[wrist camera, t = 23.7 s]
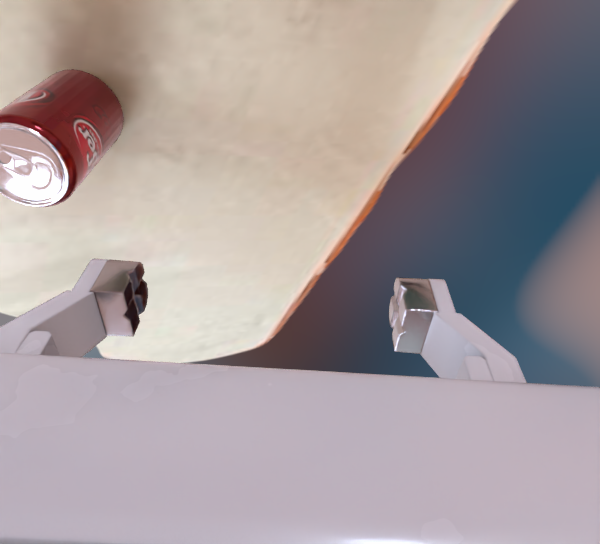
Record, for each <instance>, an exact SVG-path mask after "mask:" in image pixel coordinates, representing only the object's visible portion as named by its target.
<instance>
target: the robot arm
mask: <svg viewBox="0 0 600 544" xmlns="http://www.w3.org/2000/svg"><path fill="white" fill-rule="evenodd" d="M143 275H144V268H143V264H142V263H141V262H133V261H121V260H106V259H92V260H91V261H90V262H89V264H88V265H87V267H86V268H85V270H84V272H83V273H82V275H81V276H80V278H79V280H78V281H77V283H76V284H75V286H74V288H73V289H72V291H68V290H67V291H65V292H63V293H61V294H60V295H58V296H56V297H54V298H52V299H50V300H49V301H47V302H45V303H43V304H41V305H39V306H38V307H36V308H34V309H32V310H30V311H28V312H27V313H25V314H23V315H21V316H19V317H17V318H16V319H14V320H12V321H10V322H8V323H6V324H4V325H3V326H1V327H0V544H600V387H587V386H570V385H552V384H535V383H526V380H525V378H524V376H523V373H522V371H521V369H520V367H519V364H518V362H517V359H516V357H514V356H513V355H512V354H510V353H509V352H508V351H507V350H505V349H504V348H503V347H502V346H500V345H499V344H498V343H497V342H495V341H494V340H493V339H492V338H490V337H489V336H488V335H487V334H485V333H484V332H483V331H482V330H480V329H479V328H478V327H476V326H475V325H474V324H473V323H471V322H470V321H469V320H468V319H467V318H465V317H464V316H463V315H462V314H457V313H456V311H455V308H454V305H453V302H452V299H451V296H450V294H449V291H448V288H447V285H446V282H445V281H444V280H443V279H412V278H396V281H395V284H394V292H395V295H394V296H393V297H392V298H391V301H390V307H389V321H390V326H391V327H392V328H393V329H394V330H393V334H392V339H393V345H394V350H395V352H406V353H419V354H421V356H422V357H423V358H424V359H425V360H426V362H427V363H428V364H429V365H430V366H431V367H432V369H433V370H434V371H435V372H436V373H437V374H438V376H439V377H440V378H430V377H414V376H396V375H378V374H361V373H344V372H327V371H326V372H325V371H309V370H292V369H274V368H254V367H239V366H221V365H203V364H188V363H170V362H153V361H136V360H119V359H100V358H84V357H83V356H84V355H85V354H86V353H88V352H89V351H90V350H91V349H92V348H94V347H95V346H96V345H97V344H98V343H100V342H101V341H102V340H103V339H105V338H106V337H107V336H106V335H109V336H134V334H135V332H136V329H137V327H138V324H139V322H140V320H139V314H141V313H142V312H144V310H145V307H146V305H147V299H148V288H147V283H146V282H145V281H144V280H143V279H142V277H143Z"/></svg>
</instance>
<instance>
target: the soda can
mask: <svg viewBox="0 0 600 544" xmlns="http://www.w3.org/2000/svg"><path fill="white" fill-rule="evenodd" d="M122 128H123V112H122V109H121V105H120V103H119V101H118V99H117V97H116V96H115V94H114V93H113V92H112V90H111V89H110V88H109V87H108V86H107V85H106V84H105V83H104V82H102V81H101V80H100V79H98V78H97V77H95V76H93V75H91V74H89V73H86V72H83V71H80V70H73V69H72V70H63V71H59V72H56V73H55V74H53V75H51V76H50V77H48V78H47V79H45V80H44V81H42V82H41V83H39V84H38V85H36V86H35V87H33V88H32V89H31V90H29V91H28V92H26V93H25V94H23V95H22V96H20V97H19V98H17V99H16V100H14V101H13V102H11V103H10V104H8V105H7V106H5V107H4V108H2V109H1V110H0V193H1V194H2V195H4V196H6V197H7V198H9V199H11V200H13V201H15V202H18V203H21V204H24V205H28V206H36V207H49V206H53V205H57V204H60V203H62V202H64V201H65V200H67V199H68V198H69V197H70V196H71V195H72V194H73V192H74V191H75V190H76V189H77V188H78V186H79V185H80V184H81V183H82V182H83V180H84V179H85V178H86V177H87V175H88V174H89V173H90V172H91V171H92V169H93V168H94V167H95V166H96V164H97V163H98V162H99V161H100V160H101V158H102V157H103V156H104V155H105V154H106V152H107V151H108V150H109V149H110V147H111V146H112V145H113V144H114V143H115V141H116V140H117V139H118V137H119V136H120V134H121V131H122Z"/></svg>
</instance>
